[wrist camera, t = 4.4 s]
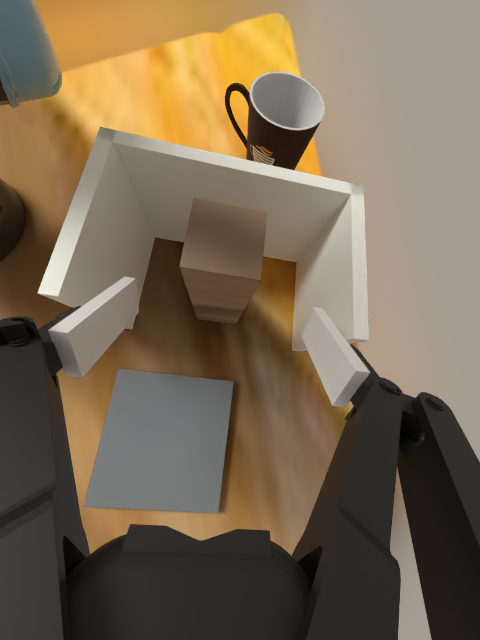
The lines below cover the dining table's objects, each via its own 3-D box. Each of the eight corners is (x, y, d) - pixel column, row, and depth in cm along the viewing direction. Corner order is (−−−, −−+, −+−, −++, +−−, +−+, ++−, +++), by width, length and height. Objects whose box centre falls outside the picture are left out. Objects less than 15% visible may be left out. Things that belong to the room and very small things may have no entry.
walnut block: (236, 324, 26) (260, 280, 12) (197, 319, 26) (179, 266, 12) (240, 288, 27) (267, 212, 14) (203, 282, 27) (193, 197, 13)
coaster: (88, 501, 20) (83, 506, 19) (121, 368, 23) (118, 368, 22) (217, 507, 21) (218, 513, 21) (233, 381, 24) (233, 381, 24)
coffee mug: (301, 192, 32) (339, 117, 23) (257, 211, 30) (278, 139, 21) (262, 138, 34) (282, 47, 24) (218, 154, 32) (220, 61, 22)
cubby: (300, 351, 26) (369, 340, 15) (122, 328, 24) (37, 293, 12) (304, 256, 30) (363, 186, 18) (148, 228, 27) (100, 126, 16)
